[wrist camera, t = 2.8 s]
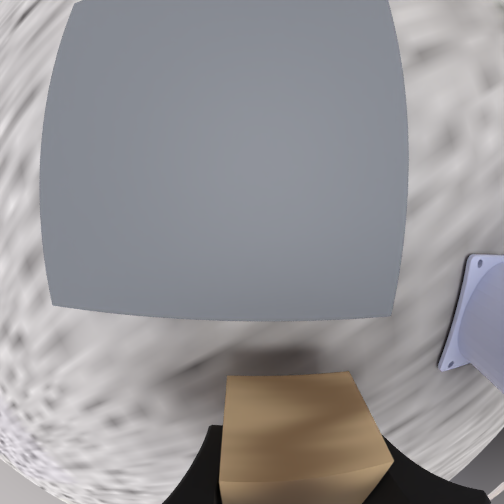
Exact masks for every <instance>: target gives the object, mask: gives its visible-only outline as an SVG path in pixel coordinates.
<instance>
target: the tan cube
mask: <svg viewBox="0 0 504 504" xmlns="http://www.w3.org/2000/svg"><path fill="white" fill-rule="evenodd" d="M393 462H394V460H393V458H392V455H391V453H390V451H389V449H388V447H387V445H386V443H385V441H384V439H383V437H382V435H381V433H380V431H379V429H378V427H377V425H376V423H375V421H374V419H373V417H372V415H371V413H370V411H369V409H368V407H367V405H366V403H365V401H364V399H363V397H362V396H361V394H360V392H359V390H358V388H357V386H356V384H355V382H354V380H353V378H352V376H351V374H350V373H349V371H345V372H335V373H323V374H308V375H287V376H228V375H227V383H226V396H225V408H224V420H223V433H222V447H221V460H220V475H219V485H220V491H221V498H222V504H362V503H363V502H364V500H365V499H366V498H367V497H368V495H369V494H370V493H371V492H372V491H373V489H374V488H375V487H376V485H377V484H378V483H379V481H380V480H381V479H382V477H383V476H384V475H385V473H386V472H387V471H388V469H389V468H390V466H391V465H392V463H393Z"/></svg>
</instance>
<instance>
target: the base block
mask: <svg viewBox="0 0 504 504" xmlns="http://www.w3.org/2000/svg"><path fill="white" fill-rule="evenodd" d="M408 166H409V151H408V121H407V107H406V95H405V86H404V78H403V70H402V63H401V57H400V51H399V46H398V41H397V36H396V31H395V26H394V22H393V18H392V14H391V10H390V6H389V2H388V0H82V1H80V2H77V3H75V4H74V6H73V9H72V11H71V14H70V16H69V19H68V22H67V25H66V28H65V30H64V33H63V36H62V40H61V43H60V46H59V50H58V53H57V57H56V60H55V64H54V68H53V73H52V77H51V82H50V86H49V91H48V97H47V103H46V109H45V116H44V123H43V132H42V142H41V156H40V218H41V232H42V243H43V252H44V260H45V267H46V273H47V279H48V285H49V290H50V295H51V300H52V305H54V306H60V307H67V308H74V309H82V310H89V311H98V312H106V313H116V314H125V315H136V316H148V317H161V318H176V319H195V320H220V321H316V320H340V319H358V318H373V317H386V316H391V314H392V309H393V304H394V299H395V294H396V289H397V283H398V277H399V271H400V265H401V258H402V251H403V243H404V234H405V224H406V212H407V197H408Z"/></svg>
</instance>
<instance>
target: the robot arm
mask: <svg viewBox="0 0 504 504" xmlns="http://www.w3.org/2000/svg"><path fill="white" fill-rule="evenodd" d="M469 363H471V364H472V365H473V366H475V367H476V368H477V369H478V370H479V371H480V372H481V373H482V374H483V375H484V376H485V377H486V378H487V379H489V380H490V381H491V382H492V383H493V384H494V385H495V386H496V387H497V388H498V389H499V390H500V391H501V392H502V393H503V394H504V255H491V254H471V255H470V256H469V258H468V260H467V264H466V269H465V275H464V280H463V284H462V289H461V293H460V297H459V301H458V305H457V309H456V313H455V316H454V320H453V323H452V326H451V330H450V333H449V336H448V339H447V342H446V345H445V348H444V351H443V353H442V356H441V359H440V361H439V364H438V369H439V370H440V371H441V372H443V371H447V370H450V369H453V368H457V367H460V366H463V365H466V364H469ZM222 433H223V426H222V425H211V426H209V428H208V432H207V434H206V437H205V440H204V442H203V444H202V446H201V448H200V450H199V452H198V454H197V456H196V458H195V460H194V461H193V463H192V465H191V467H190V468H189V470H188V471H187V473H186V474H185V476H184V477H183V479H182V480H181V482H180V483H179V484H178V486H177V487H176V488H175V490H174V491H173V492H172V493H171V494H170V496H169V497H168V498H167V499H166V500H165V501H164V502H163V503H162V504H222V498H221V491H220V485H219V475H220V460H221V447H222ZM381 435H382V434H381ZM382 437H383V439H384V441H385V443H386V445H387V447H388V449H389V451H390V453H391V455H392V458H393V460H394V462H393V463H392V465H391V466H390V468H389V469H388V471H387V472H386V473H385V475H384V476H383V477H382V479H381V480H380V481H379V483H378V484H377V485H376V487H375V488H374V489H373V491H372V492H371V493H370V494H369V495H368V497H367V498H366V499H365V500H364V502H363V503H362V504H491V502H490V500H489V498H488V497H487V495H486V493H485V492H484V491H482V490H477V489H472V488H467V487H464V486H461V485H458V484H455V483H452V482H450V481H447V480H445V479H443V478H440V477H438V476H436V475H434V474H432V473H430V472H429V471H427V470H425V469H424V468H422V467H420V466H419V465H417V464H416V463H414V462H413V461H412V460H410V459H409V458H408V457H406V456H405V455H404V454H403V453H401V452H400V451H399V450H398V449H397V448H396V447H395V446H393V445H392V444H391V443H390V442H389V441H388V440H387V439H386V438H385V437H384V436H383V435H382Z"/></svg>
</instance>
